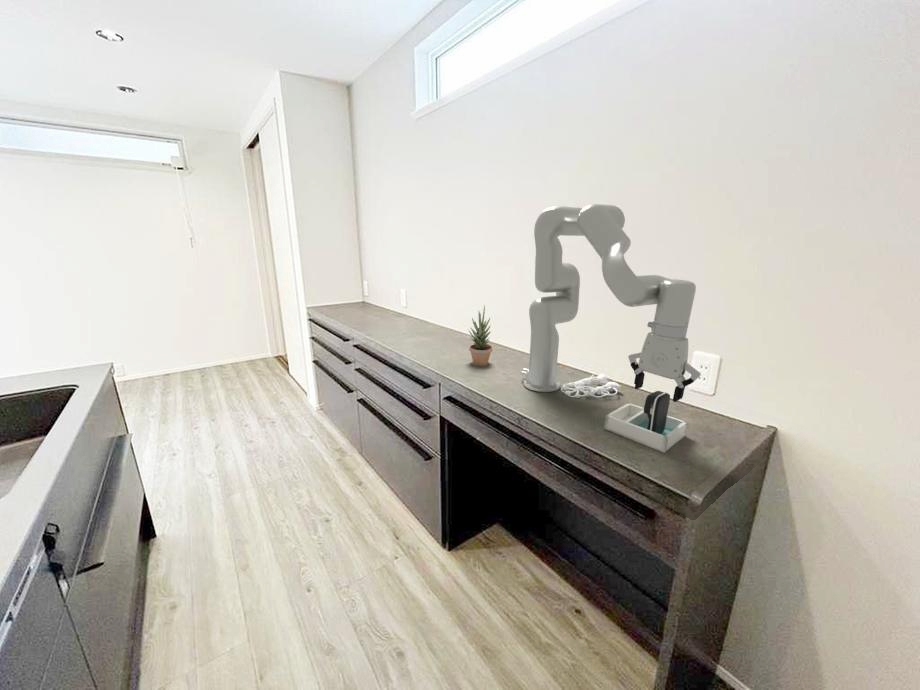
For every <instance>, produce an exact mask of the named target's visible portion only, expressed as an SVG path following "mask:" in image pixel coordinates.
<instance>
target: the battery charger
mask: <svg viewBox="0 0 920 690" xmlns="http://www.w3.org/2000/svg"><path fill="white" fill-rule="evenodd" d="M670 399H671V395H670V394H669V393H668V392H664V391H660V390H656V391H654V392H652V393H650V394H648V395H647V396H646V398H645V401H644V405H643V408H644V413H646V414H648V415H647V416H648V418H649V423H648V428H647V430H650V431H653V432H656V433H658V434H661V433H662V432H663V431H664V430H665V424H666V419H667V416H668V413H669V406H670V402H671V400H670Z"/></svg>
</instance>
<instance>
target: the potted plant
mask: <svg viewBox="0 0 920 690" xmlns="http://www.w3.org/2000/svg"><path fill="white" fill-rule="evenodd" d="M485 313H486V307H485V304H484V305H483V311H482V314H481V312H480V311H478V313H477V314H478V325H477V322H476V321H475V320H474V318H473V317H472V318H471V319H472V320H471V321H472V323H473V327H474V329H475V330H474V329H473V328H472V327H470V330H468V332H469V334H470V336H471V337H472V338H471V337H470V339H471V341H472V342H473V344H470V345H469V346H468V347H469V349H468V350H469V352H470V355H471V359H472V363H473V365H475V366H481V367H482V366H486V365H488V364H489V359H490V356H491V353H492V352H493V346H492V345H490V344H489V342H490V340H489V339H490V337H488V336H489V335H491V331H489V330H490V329H491V325H489V323H490V320H491V317H489V319H487V320H486V319H485ZM488 325H489V326H488Z"/></svg>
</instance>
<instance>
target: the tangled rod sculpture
mask: <svg viewBox="0 0 920 690" xmlns="http://www.w3.org/2000/svg"><path fill="white" fill-rule="evenodd" d="M608 380H609V379H608V376H607V375H605V374H603V373H601V374H599V375H597V376H595V375H594V374H592V375H591V376H590V377H586V378H585V377H584V378H583V379H580V380H577V381H574V382H571V381H570V382H569V383H564V384H562V387H561V388H560V390H561V392H562V393H564V394H565V396H568V397H570V398H577V399H579V398H580V397H588V396H590V397H593V398H597V399H598V398H603V397H605V396H616V395H617V394H618V392H619V391H618V390H621V388H622V387H621V385H620V384H618V383H617V382H616V381H615V382H614V381H608ZM593 381H596V382H597V384H598V385H600V386H596V387H591V386H590V385H591V384H592V382H593ZM567 386H569V387H567ZM573 387H574V388H573ZM613 391H615V393H614V392H613ZM610 392H613V393H610ZM573 393H575V394H574V395H571V394H573ZM580 393H583V394H580ZM595 394H596V395H595ZM597 395H598V396H597Z"/></svg>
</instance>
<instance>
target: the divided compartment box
mask: <svg viewBox="0 0 920 690" xmlns="http://www.w3.org/2000/svg"><path fill="white" fill-rule="evenodd" d="M647 415H648V414H646V413H644V406H643V407H642V406H639V405H636V404H633V403H630V402H628V403H626V404H624V405H622V406H620V407H619V408H617V409H616V410H613V411H612V412H610V413H608V414H606V415H605V419H604V420H605V421H604V426H603V427H604V428H603V429H604V430H606V431H609V432H612V433H614V434H616V435H619V436H621V437H623V438H626V439H629V440H631V441H634V442H636V443H639V444H641V445H643V446H647V447H649V448H651V449H654V450H656V451H659V452H661V453H666V452H667V451H668V450H669V449H671V448H672V447H673V446H674V445H676V444H677V443H678V442H679V441H680V440H682V439H683V438H684V437H685V436H686V432H687V431H686V430H687V428H688V427H687V426H688V421H685V420H682V419H679V418H676V417H673V416H669V415H667V419H666V424H665V430H664V431H663V432H662V433H661V434H658V433H656V432H653V431H650V430H647V428H648V423H649V418H648V416H647Z"/></svg>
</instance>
